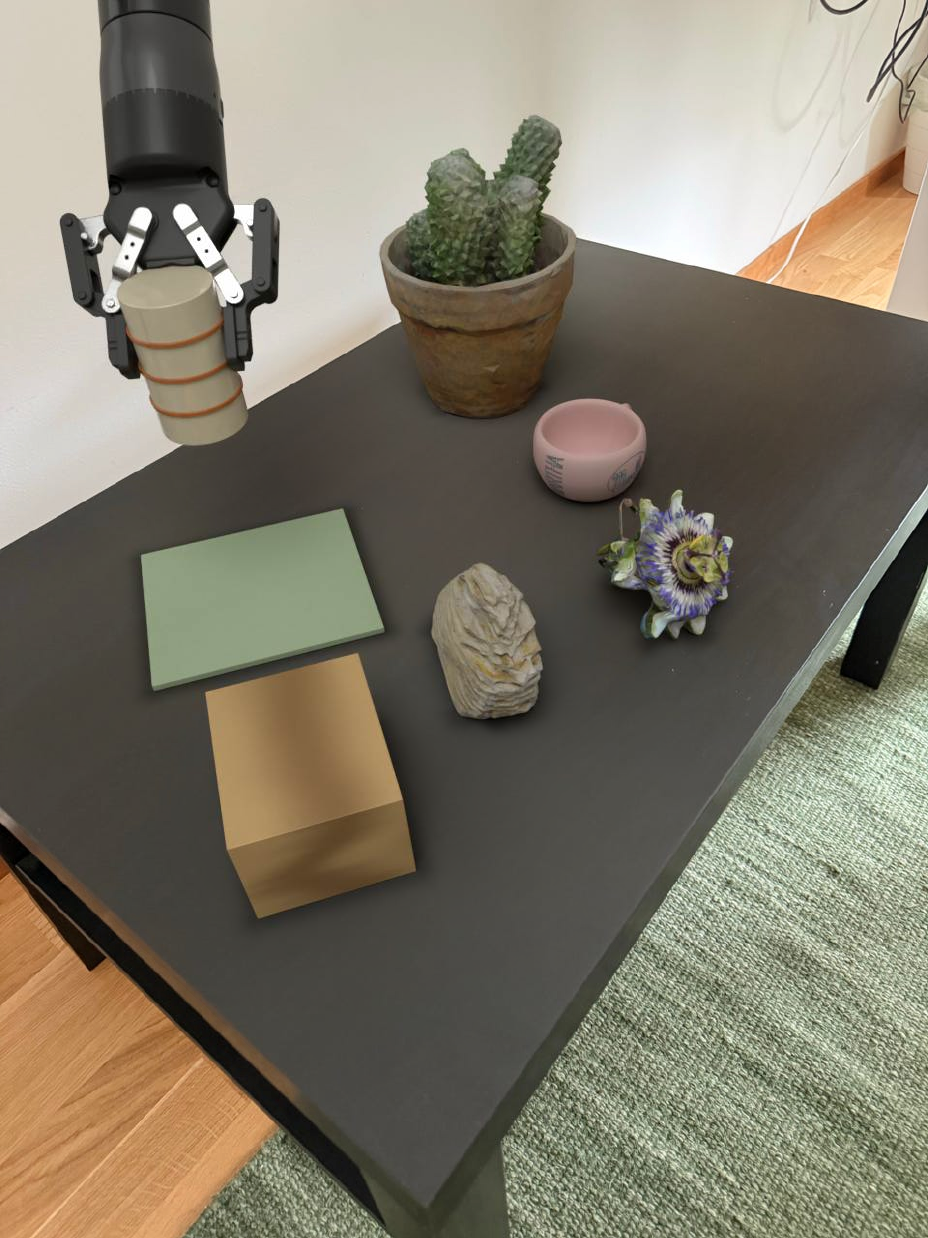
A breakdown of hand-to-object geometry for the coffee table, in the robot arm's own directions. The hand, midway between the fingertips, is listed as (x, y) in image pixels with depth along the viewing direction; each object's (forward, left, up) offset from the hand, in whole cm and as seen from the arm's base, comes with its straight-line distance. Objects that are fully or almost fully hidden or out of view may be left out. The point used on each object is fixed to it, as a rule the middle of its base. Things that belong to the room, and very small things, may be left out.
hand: (183, 371), depth 60 cm
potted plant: (+27, +25, -22) cm, 43 cm away
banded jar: (0, +2, -5) cm, 5 cm away
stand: (+1, -21, -22) cm, 30 cm away
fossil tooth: (+15, -13, -22) cm, 30 cm away
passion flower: (+30, -10, -22) cm, 39 cm away
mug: (+32, +7, -22) cm, 40 cm away
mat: (0, +2, -22) cm, 22 cm away
